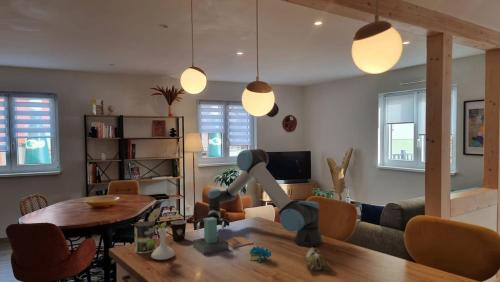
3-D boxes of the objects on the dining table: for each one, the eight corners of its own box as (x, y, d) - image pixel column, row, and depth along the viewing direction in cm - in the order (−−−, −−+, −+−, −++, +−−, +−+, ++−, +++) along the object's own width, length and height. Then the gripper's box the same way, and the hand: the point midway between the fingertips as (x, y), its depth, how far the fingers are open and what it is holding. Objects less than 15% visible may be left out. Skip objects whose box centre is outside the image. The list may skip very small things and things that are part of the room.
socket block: (228, 250, 173) (228, 242, 173) (203, 255, 165) (203, 247, 165) (216, 242, 185) (216, 235, 184) (193, 247, 177) (193, 239, 177)
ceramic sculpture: (323, 243, 156) (333, 256, 141) (323, 261, 157) (332, 276, 142) (300, 244, 155) (308, 257, 140) (300, 261, 156) (308, 277, 141)
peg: (217, 249, 174) (216, 219, 174) (208, 251, 171) (208, 220, 171) (212, 246, 178) (212, 217, 178) (204, 248, 176) (204, 218, 175)
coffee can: (159, 248, 175) (158, 222, 175) (143, 255, 166) (143, 227, 166) (145, 245, 180) (145, 220, 180) (130, 251, 172) (129, 224, 171)
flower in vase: (167, 251, 171) (166, 203, 170) (179, 257, 162) (178, 207, 162) (143, 258, 161) (143, 207, 161) (155, 265, 153) (154, 211, 153)
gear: (274, 255, 160) (267, 245, 154) (272, 267, 156) (264, 257, 150) (254, 255, 165) (246, 245, 159) (251, 266, 161) (243, 256, 155)
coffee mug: (188, 237, 194) (188, 220, 194) (183, 242, 186) (183, 224, 186) (169, 236, 196) (168, 220, 195) (163, 241, 187) (163, 224, 187)
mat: (253, 243, 183) (253, 242, 183) (233, 247, 176) (233, 246, 176) (241, 237, 194) (241, 236, 194) (221, 241, 187) (221, 240, 187)
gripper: (233, 223, 201) (233, 234, 180) (192, 224, 200) (187, 234, 179) (233, 211, 201) (233, 220, 180) (192, 212, 200) (187, 221, 179)
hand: (210, 227), depth 179 cm, fingers open, 13 cm apart
